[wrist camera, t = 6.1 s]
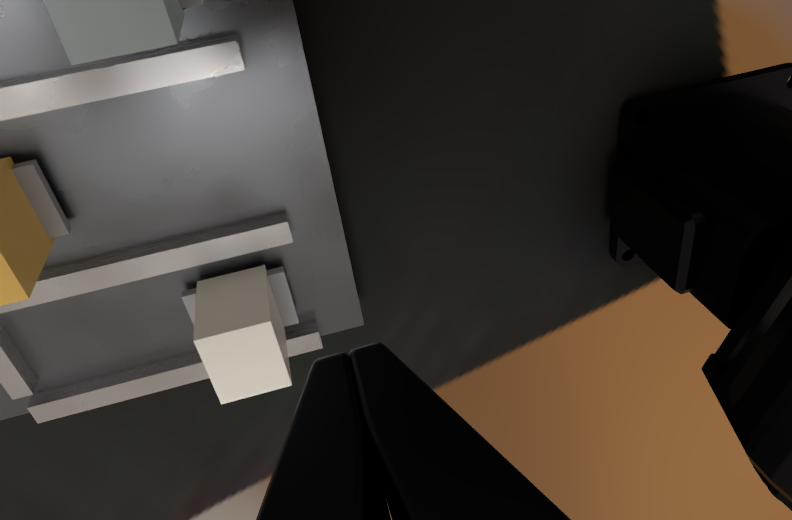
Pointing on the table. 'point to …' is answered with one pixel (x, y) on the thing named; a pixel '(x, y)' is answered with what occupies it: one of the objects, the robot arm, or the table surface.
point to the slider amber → (25, 227)
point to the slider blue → (116, 26)
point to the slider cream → (243, 330)
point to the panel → (163, 199)
